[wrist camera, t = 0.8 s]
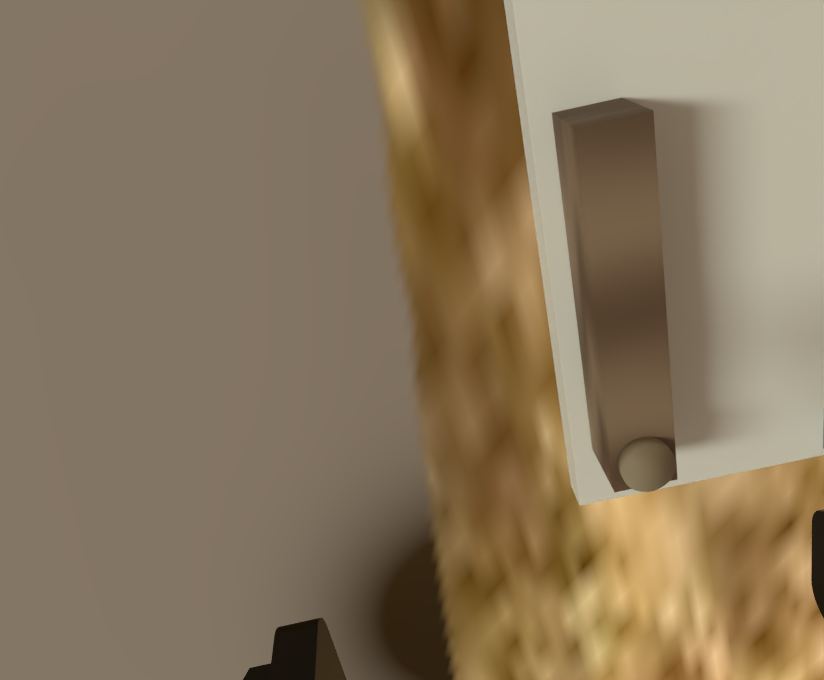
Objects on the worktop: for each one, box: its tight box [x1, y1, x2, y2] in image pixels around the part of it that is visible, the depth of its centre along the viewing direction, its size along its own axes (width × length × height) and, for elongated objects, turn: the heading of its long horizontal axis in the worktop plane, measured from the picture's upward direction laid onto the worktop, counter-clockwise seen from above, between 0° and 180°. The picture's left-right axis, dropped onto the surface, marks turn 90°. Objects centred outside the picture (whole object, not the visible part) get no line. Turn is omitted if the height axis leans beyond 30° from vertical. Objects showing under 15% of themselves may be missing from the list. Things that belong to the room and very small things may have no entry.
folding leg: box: [552, 98, 677, 492], centre depth 27 cm, size 14×2×4 cm, turn 11°
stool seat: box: [504, 0, 824, 505], centre depth 29 cm, size 21×15×2 cm
